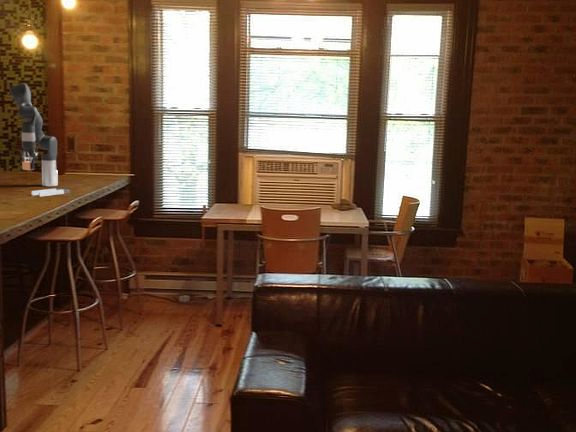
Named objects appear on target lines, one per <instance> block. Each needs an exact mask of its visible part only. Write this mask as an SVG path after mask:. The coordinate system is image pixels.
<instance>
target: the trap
mask: <svg viewBox="0 0 576 432" xmlns="http://www.w3.org/2000/svg"><path fill="white" fill-rule="evenodd" d="M56 190H64V194H71V189H67V188H56ZM64 194H63V195H64Z"/></svg>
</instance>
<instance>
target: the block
mask: <svg viewBox="0 0 576 432" xmlns="http://www.w3.org/2000/svg"><path fill="white" fill-rule="evenodd" d="M21 165H22V166H21V169H22V170H23V171H32V170H33V171H34V170H35V168H34V169H31V168H30V160H29V161H28V162H24V161H22V162H21Z"/></svg>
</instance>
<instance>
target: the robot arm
mask: <svg viewBox="0 0 576 432" xmlns="http://www.w3.org/2000/svg"><path fill="white" fill-rule="evenodd" d="M9 92H10V94H11V96H12V98H13V100H14V101H15V103H16V104H17V106H18V111H17V112H18V114H17V115H18V116H19V118H22V119H25V122H23V123H21V147H22V149H23V150H20V151H19V153H20V158H21V161H22V162H28V161H29V162H30V168H31V169H34V170H35V163H37V162H38V159H39V152H36V151H35V149H36V147H37V146H36V144H37V145H38V147H39V148H40V149H41V150H45V151H47V153H45V154H43V155H42V156H41V184H42V185H41V186H43V187H56V186H58V185H59V177H58V176H59V174H58V170H57V157H58V140H57V138H56V137H55V136H50V135H45V134H44V131H43V130H42V129H43V124H44V121H43V118H42V116H41V114H40V112H39V111H38V109H37V107H36V106H34V105H33V104H32V92H31V90H30V88H29V85H28V84H27V83H25V82H23V83H19V84H18V83H17V84H16V85H13V86H12V87H10V88H9Z"/></svg>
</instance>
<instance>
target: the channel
mask: <svg viewBox="0 0 576 432" xmlns="http://www.w3.org/2000/svg"><path fill="white" fill-rule="evenodd" d="M56 189H57V188H56V187H55V188H48V189H47V188H46V189H38V190H31V196H38V197H42V198H43V197H46V196H47V197H49V196H55V195H56V196H57V195H64V190H56Z"/></svg>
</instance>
